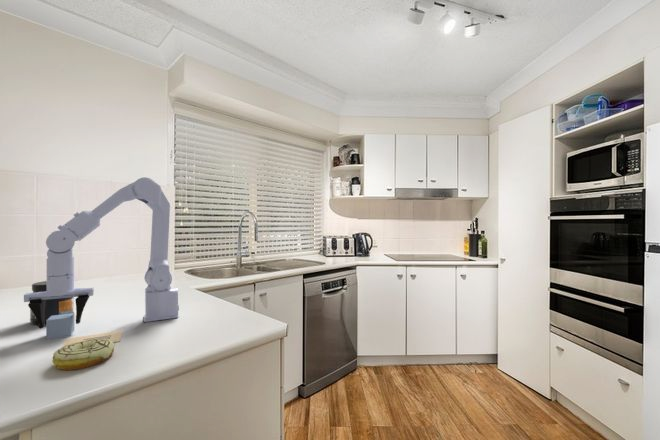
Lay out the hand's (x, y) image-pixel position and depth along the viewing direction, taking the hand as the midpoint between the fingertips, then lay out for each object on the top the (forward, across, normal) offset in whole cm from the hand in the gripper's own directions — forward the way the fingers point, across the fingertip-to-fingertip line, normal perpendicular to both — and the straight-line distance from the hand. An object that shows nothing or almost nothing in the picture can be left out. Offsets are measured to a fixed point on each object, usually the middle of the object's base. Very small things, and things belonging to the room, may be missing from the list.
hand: (60, 324), depth 88 cm
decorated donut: (+3, -9, +24) cm, 26 cm away
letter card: (+3, -9, +10) cm, 13 cm away
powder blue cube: (+3, 0, 0) cm, 3 cm away
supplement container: (+3, +5, -18) cm, 19 cm away
